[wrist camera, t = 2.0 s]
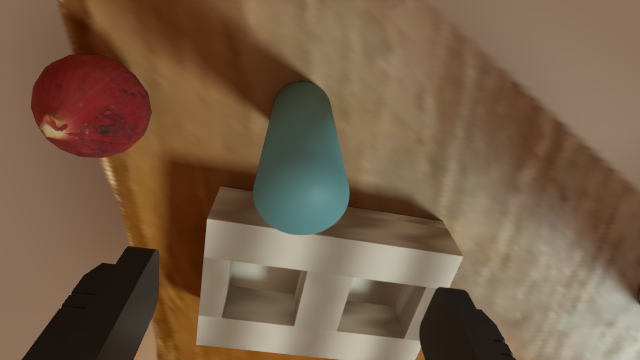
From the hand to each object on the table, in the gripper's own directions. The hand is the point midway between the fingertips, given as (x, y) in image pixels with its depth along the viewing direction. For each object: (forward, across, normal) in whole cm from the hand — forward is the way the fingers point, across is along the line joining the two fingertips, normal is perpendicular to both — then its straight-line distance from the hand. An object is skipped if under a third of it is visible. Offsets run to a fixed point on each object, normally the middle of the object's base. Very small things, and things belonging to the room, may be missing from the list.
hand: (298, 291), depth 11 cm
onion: (+18, +12, +1) cm, 21 cm away
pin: (+18, 0, 0) cm, 18 cm away
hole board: (+17, -4, +13) cm, 22 cm away
